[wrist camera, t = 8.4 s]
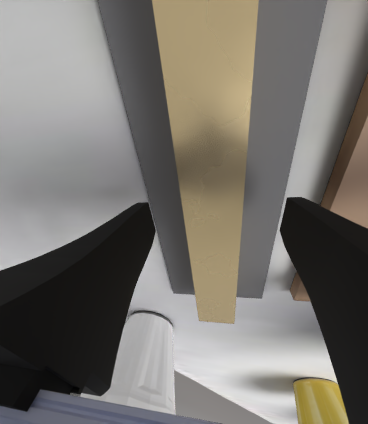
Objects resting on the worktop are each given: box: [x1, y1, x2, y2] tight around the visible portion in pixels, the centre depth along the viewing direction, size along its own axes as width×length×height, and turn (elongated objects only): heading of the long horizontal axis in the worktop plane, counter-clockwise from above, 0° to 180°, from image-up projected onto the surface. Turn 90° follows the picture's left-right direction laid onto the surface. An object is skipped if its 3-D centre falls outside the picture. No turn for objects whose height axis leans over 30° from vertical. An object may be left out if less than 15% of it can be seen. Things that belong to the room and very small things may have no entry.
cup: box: [80, 311, 176, 415], centre depth 21 cm, size 10×10×9 cm
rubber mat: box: [98, 0, 327, 299], centre depth 12 cm, size 24×9×1 cm, turn 7°
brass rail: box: [152, 0, 259, 324], centre depth 10 cm, size 22×3×3 cm, turn 7°
